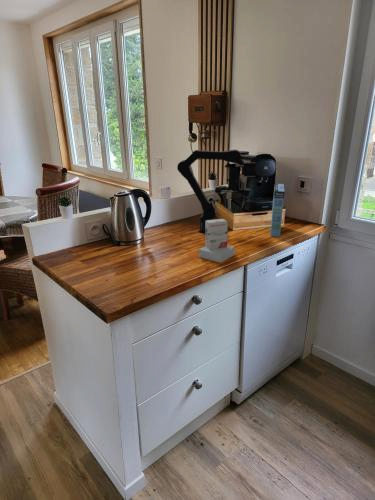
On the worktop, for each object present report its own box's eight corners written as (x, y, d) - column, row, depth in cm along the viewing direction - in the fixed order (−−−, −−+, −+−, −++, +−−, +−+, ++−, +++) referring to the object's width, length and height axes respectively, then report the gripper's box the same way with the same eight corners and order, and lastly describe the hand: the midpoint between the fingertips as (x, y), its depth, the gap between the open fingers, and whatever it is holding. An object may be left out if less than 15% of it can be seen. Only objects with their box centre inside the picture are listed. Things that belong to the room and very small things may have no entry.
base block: (199, 257, 145) (198, 249, 144) (213, 250, 153) (213, 242, 152) (220, 263, 139) (220, 254, 137) (234, 255, 147) (234, 247, 145)
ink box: (223, 243, 150) (223, 217, 145) (227, 247, 145) (228, 220, 141) (204, 245, 147) (204, 219, 143) (208, 249, 143) (208, 223, 139)
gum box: (270, 225, 186) (274, 183, 178) (280, 225, 185) (284, 183, 177) (270, 236, 168) (273, 190, 160) (280, 237, 167) (284, 191, 159)
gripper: (258, 175, 166) (256, 206, 172) (225, 173, 176) (224, 202, 182) (249, 179, 158) (247, 211, 163) (214, 176, 168) (214, 206, 173)
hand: (233, 207), depth 171 cm, fingers open, 9 cm apart
